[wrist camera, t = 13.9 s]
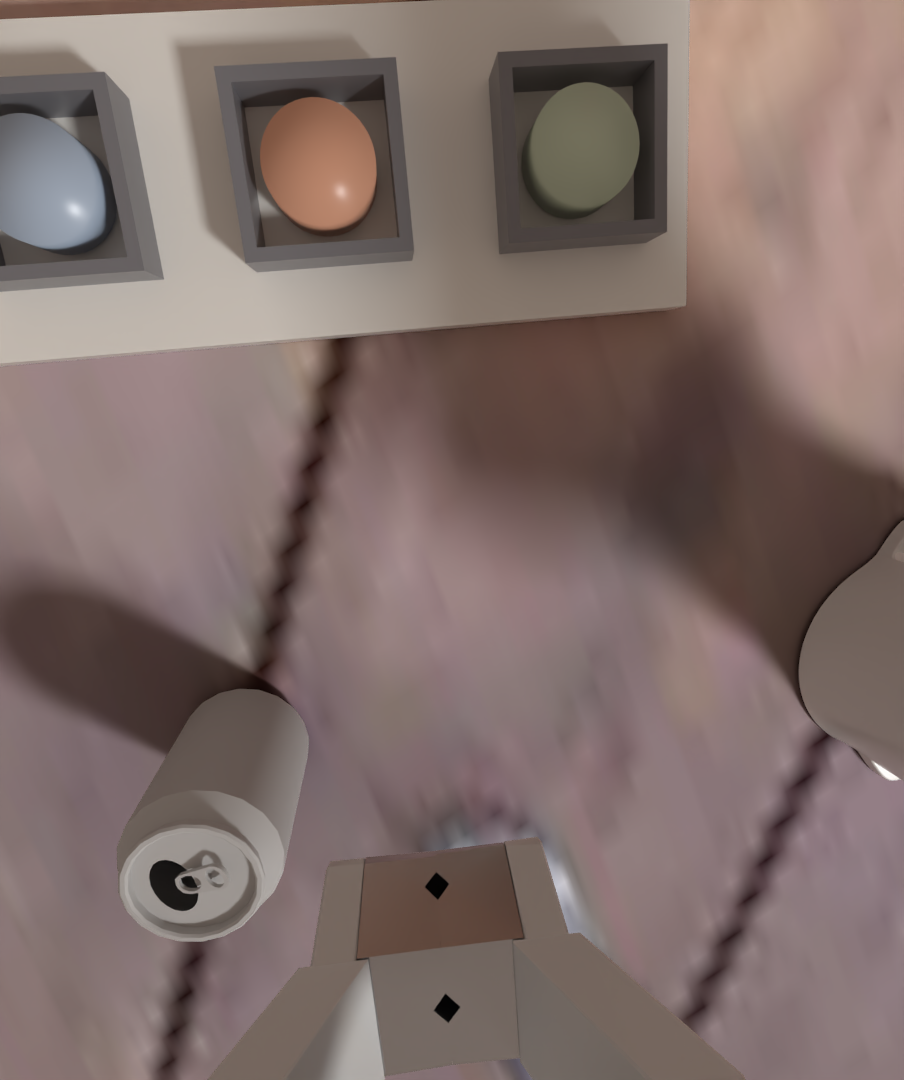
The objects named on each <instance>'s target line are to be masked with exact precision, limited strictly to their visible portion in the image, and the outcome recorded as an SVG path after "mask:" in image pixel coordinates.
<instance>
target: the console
mask: <svg viewBox="0 0 904 1080" xmlns="http://www.w3.org/2000/svg"><path fill="white" fill-rule="evenodd" d="M689 22H690V0H433V1H410V2H387V3H364V4H341V5H318V6H295V7H272V8H249V9H226V10H203V11H180V12H157V13H134V14H111V15H88V16H65V17H42V18H19V19H0V116H4V115H7V114H13V113H27V114H33V115H37V116H40V117H43V118H45V119H48V120H50V121H52V122H53V123H55V124H57V125H58V126H60V127H61V128H63V129H64V130H65V131H67V132H68V133H69V134H70V135H72V136H73V137H74V138H76V139H77V140H78V141H79V142H81V143H82V144H83V145H85V146H86V147H87V148H88V149H90V150H91V151H92V152H93V153H94V154H95V155H96V156H97V157H98V158H99V159H100V161H101V162H102V163H103V164H104V166H105V167H106V169H107V171H108V173H109V174H110V176H111V180H112V184H113V189H114V194H115V199H116V204H117V213H116V218H115V222H114V225H113V227H112V229H111V231H110V233H109V235H108V236H107V237H106V238H105V240H104V241H103V242H102V243H101V244H99V245H98V246H97V247H95V248H94V249H92V250H90V251H88V252H85V253H81V254H76V255H62V254H56V253H52V252H49V251H46V250H44V249H41V248H38V247H36V246H33V245H31V244H28V243H25V242H23V241H20V240H18V239H15V238H13V237H11V236H10V235H8V234H6V233H5V232H3V231H2V230H0V367H1V366H13V365H25V364H37V363H48V362H60V361H72V360H84V359H96V358H108V357H120V356H131V355H143V354H155V353H167V352H179V351H191V350H203V349H214V348H226V347H238V346H250V345H262V344H274V343H286V342H297V341H309V340H321V339H333V338H345V337H357V336H369V335H380V334H392V333H404V332H416V331H428V330H440V329H452V328H463V327H475V326H487V325H499V324H511V323H523V322H535V321H546V320H558V319H570V318H582V317H594V316H606V315H618V314H629V313H641V312H653V311H665V310H672V309H676V308H680V307H684V306H686V288H687V199H688V111H689ZM583 82H592V83H597V84H601V85H604V86H606V87H608V88H610V89H612V90H613V91H615V92H616V93H618V94H619V95H620V96H621V97H622V98H623V99H624V100H625V102H626V103H627V104H628V106H629V107H630V109H631V111H632V113H633V115H634V117H635V119H636V123H637V126H638V131H639V141H640V145H639V155H638V160H637V164H636V167H635V170H634V172H633V174H632V176H631V178H630V180H629V181H628V183H627V184H626V186H625V187H624V188H623V189H622V190H621V191H620V192H619V193H618V194H617V195H616V196H615V197H613V198H612V199H611V200H610V201H609V202H607V203H606V204H605V205H604V206H602V207H601V208H600V209H599V210H597V211H596V212H594V213H593V214H590V215H588V216H586V217H582V218H578V219H564V218H559V217H556V216H553V215H551V214H549V213H548V212H546V211H545V210H543V209H542V208H541V207H540V206H539V205H538V204H537V203H536V202H535V201H534V200H533V198H532V197H531V195H530V194H529V192H528V190H527V188H526V185H525V182H524V178H523V174H522V151H523V147H524V143H525V140H526V138H527V135H528V133H529V131H530V129H531V128H532V126H533V124H534V122H535V121H536V119H537V117H538V115H539V114H540V112H541V110H542V109H543V107H544V106H545V104H546V103H547V102H548V101H549V100H550V98H551V97H552V96H554V95H555V94H556V93H557V92H559V91H560V90H562V89H563V88H565V87H568V86H570V85H573V84H576V83H583ZM307 97H320V98H326V99H329V100H332V101H335V102H337V103H339V104H341V105H343V106H344V107H346V108H347V109H348V110H350V111H351V112H352V113H353V114H354V115H355V116H356V117H357V118H358V119H359V120H360V121H361V123H362V124H363V126H364V127H365V129H366V130H367V132H368V134H369V136H370V138H371V141H372V144H373V147H374V151H375V157H376V170H377V191H376V196H375V200H374V203H373V206H372V208H371V210H370V212H369V213H368V215H367V216H366V218H365V219H364V220H363V221H362V222H361V223H360V224H359V225H358V226H357V227H355V228H354V229H352V230H351V231H349V232H346V233H344V234H341V235H337V236H318V235H314V234H310V233H308V232H306V231H304V230H302V229H300V228H298V227H297V226H296V225H294V224H293V223H292V222H291V221H290V220H289V219H288V218H287V217H286V216H285V215H284V214H283V212H282V211H281V209H280V208H279V206H278V205H277V203H276V201H275V200H274V198H273V197H272V195H271V193H270V192H269V190H268V188H267V186H266V184H265V181H264V178H263V175H262V170H261V164H260V147H261V141H262V138H263V134H264V132H265V129H266V127H267V125H268V123H269V122H270V120H271V119H272V117H273V116H274V115H275V114H276V113H277V112H278V111H279V110H280V109H281V108H282V107H284V106H285V105H287V104H288V103H290V102H293V101H295V100H298V99H301V98H307Z"/></svg>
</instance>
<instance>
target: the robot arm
mask: <svg viewBox="0 0 904 1080" xmlns="http://www.w3.org/2000/svg"><path fill="white" fill-rule="evenodd" d="M799 684H800V690H801V695H802V698H803V701H804V704H805V706H806V708H807V710H808V712H809V714H810V715H811V717H812V718H813V720H814V721H815V722H816V723H817V724H818V725H819V726H820V727H821V728H822V729H823V730H824V731H825V732H826V733H828V734H829V735H831V736H832V737H834V738H836V739H838V740H840V741H842V742H844V743H845V744H847V745H849V746H851V747H853V748H854V749H856V750H857V751H858V752H859V754H860V755H861V757H862V758H863V760H864V761H865V763H866V764H867V765H868V767H869V768H870V769H871V770H872V771H874V772H875V773H877V774H878V775H880V776H881V777H883V778H884V779H886V780H890V781H896V780H900V779H901V780H903V781H904V520H903V521H901V522H900V523H899V524H898V525H897V526H896V528H895V529H894V530H893V531H892V533H891V534H890V535H889V537H888V538H887V539H886V541H885V542H884V544H883V545H882V547H881V548H880V550H879V551H878V553H877V554H876V555H875V556H874V557H873V558H872V559H871V560H870V561H869V562H868V563H867V564H865V565H864V566H863V567H861V568H860V569H859V570H857V571H856V572H855V573H853V574H852V575H851V576H849V577H848V578H847V579H846V580H845V581H844V582H842V583H841V584H840V585H839V586H838V587H837V588H836V589H835V590H834V591H833V592H832V594H831V595H830V596H829V597H828V598H827V599H826V601H825V602H824V603H823V605H822V606H821V608H820V609H819V611H818V612H817V614H816V615H815V617H814V619H813V621H812V623H811V625H810V627H809V629H808V631H807V634H806V636H805V639H804V642H803V646H802V650H801V655H800V661H799ZM515 1058H520V1061H521V1063H522V1065H523V1066H524V1068H525V1069H526V1070H527V1072H528V1073H529V1075H530V1076H531V1077H532V1079H533V1080H746V1079H745V1077H744V1075H743V1074H742V1073H741V1072H739V1071H738V1070H737V1069H736V1068H735V1067H734V1066H732V1065H731V1064H730V1063H729V1062H728V1061H727V1060H726V1059H724V1058H723V1057H722V1056H721V1055H720V1054H719V1053H718V1052H716V1051H715V1050H714V1049H713V1048H712V1047H711V1046H709V1045H708V1044H707V1043H706V1042H705V1041H704V1040H703V1039H701V1038H700V1037H699V1036H698V1035H697V1034H696V1033H695V1032H693V1031H692V1030H691V1029H690V1028H689V1027H688V1026H686V1025H685V1024H684V1023H683V1022H682V1021H681V1020H680V1019H678V1018H677V1017H676V1016H675V1015H674V1014H673V1013H672V1012H670V1011H669V1010H668V1009H667V1008H666V1007H665V1006H663V1005H662V1004H661V1003H660V1002H659V1001H658V1000H657V999H655V998H654V997H653V996H652V995H651V994H650V993H649V992H647V991H646V990H645V989H644V988H643V987H642V986H641V985H639V984H638V983H637V982H636V981H635V980H634V979H632V978H631V977H630V976H629V975H628V974H627V973H626V972H624V971H623V970H622V969H621V968H620V967H619V966H618V965H616V964H615V963H614V962H613V961H612V960H611V959H609V958H608V957H607V956H606V955H605V954H604V953H603V952H601V951H600V950H599V949H598V948H597V947H596V946H595V945H593V944H592V943H591V942H590V941H589V940H588V939H586V938H585V937H584V936H583V935H582V934H581V933H573V934H569V933H568V930H567V926H566V923H565V919H564V916H563V913H562V909H561V906H560V903H559V899H558V896H557V893H556V889H555V886H554V883H553V879H552V876H551V872H550V869H549V866H548V862H547V859H546V856H545V852H544V849H543V846H542V842H541V841H540V840H539V838H538V837H533V838H526V839H519V840H512V841H505V842H504V844H503V843H494V844H486V845H478V846H470V847H462V848H454V849H446V850H438V851H429V852H419V853H408V854H397V855H386V856H375V857H366V859H364V858H362V859H351V860H340V861H330V863H329V866H328V868H327V870H326V874H325V880H324V887H323V893H322V899H321V905H320V911H319V917H318V923H317V929H316V935H315V941H314V948H313V954H312V960H311V966H310V967H304V968H299V969H298V970H297V971H296V972H295V974H294V975H293V976H292V977H291V978H290V980H289V981H288V982H287V983H286V985H285V986H284V987H283V988H282V989H281V991H280V992H279V993H278V994H277V995H276V997H275V998H274V999H273V1000H272V1002H271V1003H270V1004H269V1005H268V1006H267V1008H266V1009H265V1010H264V1011H263V1013H262V1014H261V1015H260V1016H259V1017H258V1019H257V1020H256V1021H255V1022H254V1024H253V1025H252V1026H251V1027H250V1028H249V1030H248V1031H247V1032H246V1033H245V1035H244V1036H243V1037H242V1038H241V1039H240V1041H239V1042H238V1043H237V1044H236V1045H235V1047H234V1048H233V1049H232V1050H231V1052H230V1053H229V1054H228V1055H227V1056H226V1058H225V1059H224V1060H223V1061H222V1063H221V1064H220V1065H219V1066H218V1067H217V1069H216V1070H215V1071H214V1072H213V1074H212V1075H211V1076H210V1077H209V1078H208V1080H385V1077H384V1076H390V1075H396V1074H402V1073H408V1072H413V1071H419V1070H425V1069H431V1068H437V1067H443V1066H449V1065H456V1064H466V1063H476V1062H486V1061H495V1060H505V1059H515ZM452 1061H453V1064H452Z"/></svg>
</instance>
